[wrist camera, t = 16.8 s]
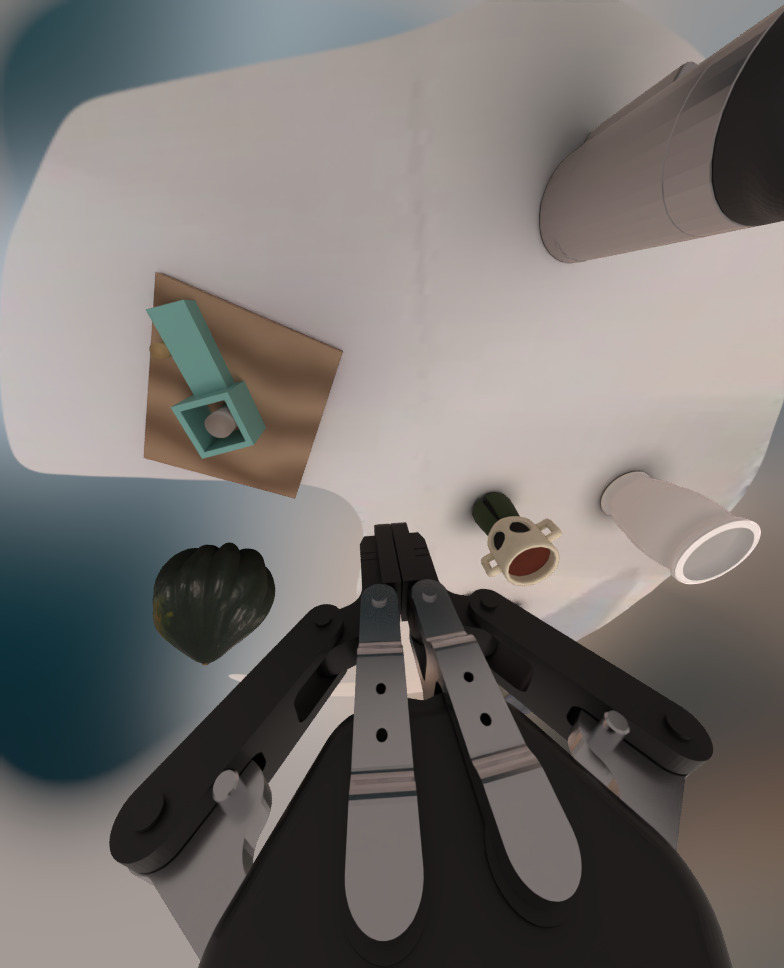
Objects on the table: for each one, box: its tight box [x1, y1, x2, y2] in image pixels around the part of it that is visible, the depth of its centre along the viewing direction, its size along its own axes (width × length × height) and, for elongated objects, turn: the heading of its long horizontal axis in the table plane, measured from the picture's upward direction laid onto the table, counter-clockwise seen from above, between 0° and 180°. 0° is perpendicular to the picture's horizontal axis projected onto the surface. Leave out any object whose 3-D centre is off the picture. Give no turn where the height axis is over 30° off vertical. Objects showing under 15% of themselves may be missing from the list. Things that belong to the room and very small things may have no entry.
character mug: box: [472, 493, 562, 586], centre depth 43 cm, size 11×7×13 cm, turn 128°
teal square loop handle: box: [146, 300, 266, 459], centre depth 31 cm, size 14×6×6 cm, turn 13°
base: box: [144, 272, 343, 498], centre depth 33 cm, size 20×18×8 cm
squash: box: [153, 543, 275, 665], centre depth 43 cm, size 14×15×15 cm
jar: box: [601, 472, 761, 584], centre depth 45 cm, size 11×10×15 cm
